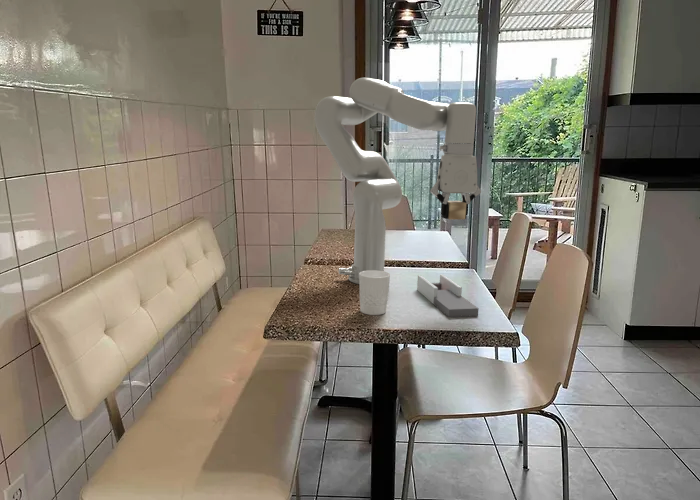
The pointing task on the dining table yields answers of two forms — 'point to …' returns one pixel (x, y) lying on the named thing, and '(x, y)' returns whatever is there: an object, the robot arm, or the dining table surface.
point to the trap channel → (446, 297)
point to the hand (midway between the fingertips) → (453, 217)
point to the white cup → (373, 291)
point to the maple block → (456, 210)
